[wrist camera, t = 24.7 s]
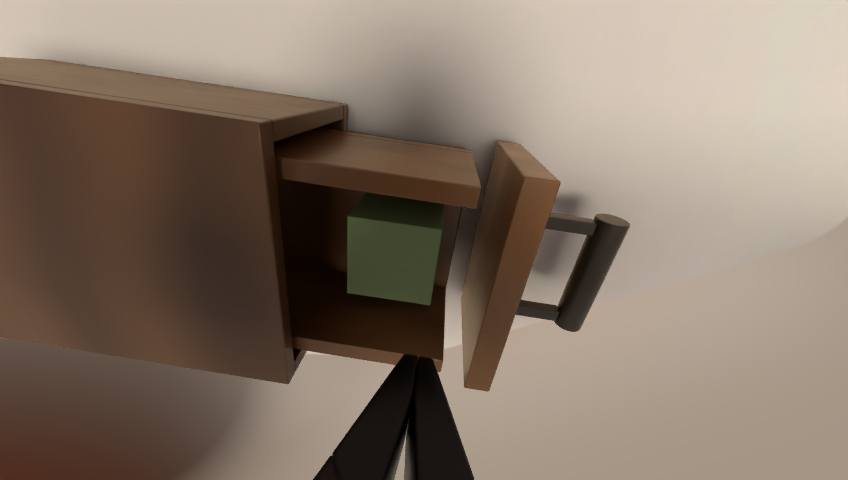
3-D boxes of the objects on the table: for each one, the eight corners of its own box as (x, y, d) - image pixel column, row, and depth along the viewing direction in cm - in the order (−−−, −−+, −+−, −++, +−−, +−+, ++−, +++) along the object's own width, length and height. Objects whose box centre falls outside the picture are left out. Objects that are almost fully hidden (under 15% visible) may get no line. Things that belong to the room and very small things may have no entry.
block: (445, 197, 16) (442, 229, 13) (434, 262, 18) (430, 305, 15) (370, 186, 16) (346, 216, 13) (367, 252, 18) (346, 293, 15)
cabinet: (348, 104, 16) (259, 122, 9) (345, 280, 22) (288, 385, 14) (47, 59, 17) (-283, 41, 9) (117, 244, 22) (-57, 328, 14)
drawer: (613, 157, 16) (711, 204, 10) (549, 313, 20) (589, 408, 14) (224, 100, 16) (88, 110, 10) (250, 265, 21) (168, 340, 15)
